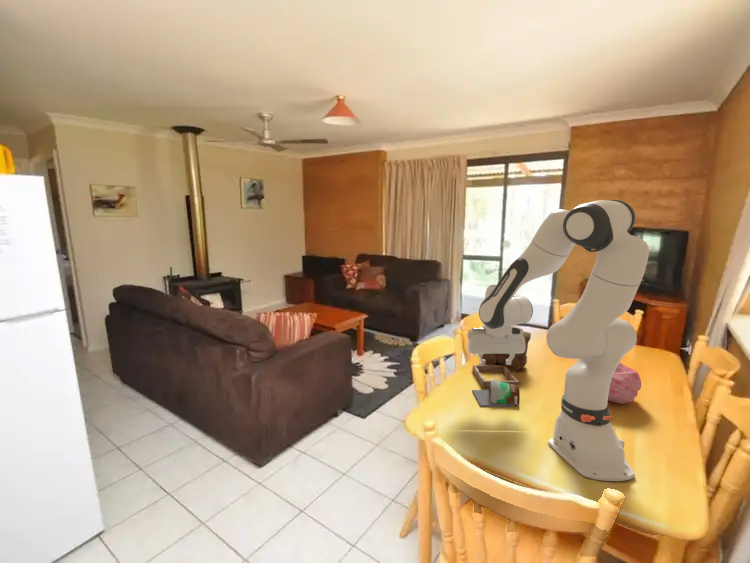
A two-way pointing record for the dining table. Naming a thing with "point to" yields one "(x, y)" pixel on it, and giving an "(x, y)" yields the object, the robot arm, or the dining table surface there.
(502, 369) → the brown wooden frame
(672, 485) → the dining table surface
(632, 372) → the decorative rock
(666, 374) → the dining table surface
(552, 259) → the robot arm
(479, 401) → the mat
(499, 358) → the wooden toy train
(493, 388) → the food container
